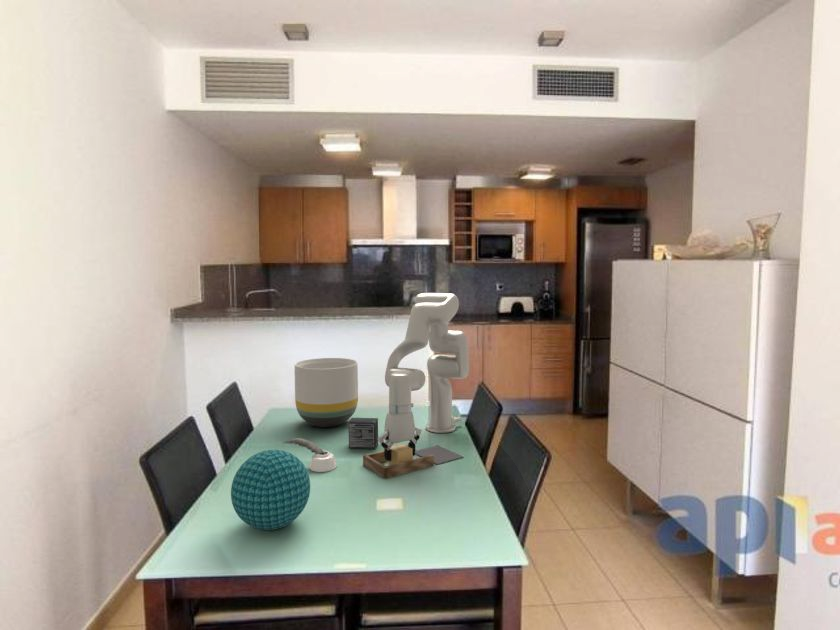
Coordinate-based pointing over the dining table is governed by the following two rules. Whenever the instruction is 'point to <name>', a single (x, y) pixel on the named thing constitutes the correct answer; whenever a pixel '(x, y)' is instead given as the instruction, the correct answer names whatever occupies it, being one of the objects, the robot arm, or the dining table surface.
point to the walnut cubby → (389, 471)
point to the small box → (363, 433)
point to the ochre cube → (400, 454)
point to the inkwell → (317, 456)
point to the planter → (326, 390)
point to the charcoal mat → (438, 454)
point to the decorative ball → (270, 489)
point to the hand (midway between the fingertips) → (400, 457)
